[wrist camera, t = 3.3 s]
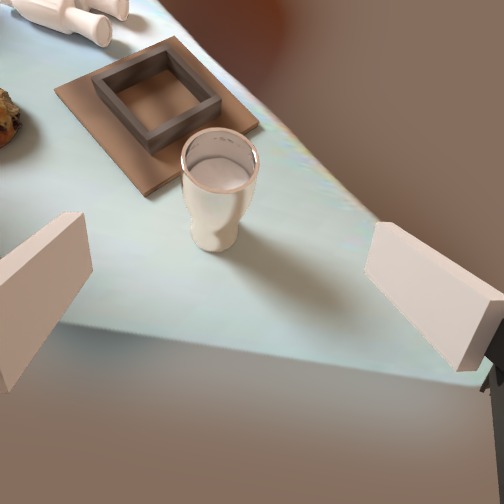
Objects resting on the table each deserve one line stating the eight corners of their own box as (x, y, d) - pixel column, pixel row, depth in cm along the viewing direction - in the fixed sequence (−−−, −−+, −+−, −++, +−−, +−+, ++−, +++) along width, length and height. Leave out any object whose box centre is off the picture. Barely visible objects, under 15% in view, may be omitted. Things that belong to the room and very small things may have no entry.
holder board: (144, 197, 40) (139, 180, 36) (56, 95, 43) (43, 69, 39) (258, 126, 46) (263, 105, 43) (174, 41, 49) (172, 15, 46)
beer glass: (251, 230, 41) (278, 161, 27) (214, 267, 38) (222, 212, 24) (213, 196, 41) (219, 111, 27) (174, 229, 39) (159, 155, 25)
